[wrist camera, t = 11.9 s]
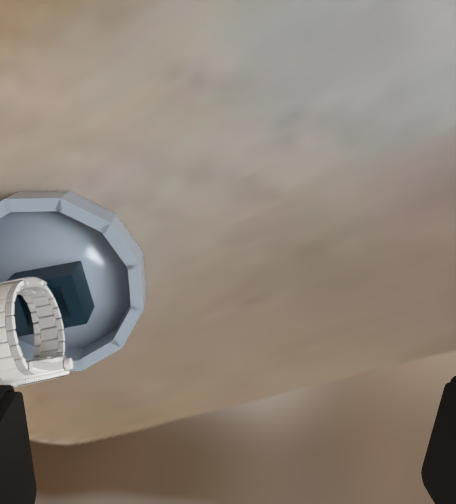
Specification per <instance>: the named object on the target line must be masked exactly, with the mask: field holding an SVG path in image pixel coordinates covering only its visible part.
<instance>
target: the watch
mask: <svg viewBox="0 0 456 504" xmlns="http://www.w3.org/2000/svg"><path fill="white" fill-rule="evenodd" d="M94 307H95V306H94V303H93V299H92V296H91V293H90V289H89V286H88V283H87V279H86V276H85V273H84V269H83V266H82V263H81V261H76V262H71V263H65V264H60V265H55V266H49V267H44V268H38V269H33V270H27V271H22V272H16V273H14V274H13V275H12V276H11V277H10V278H9V279H8V280H7V281H3V282H0V327H2V328H0V385H12V387H18V386H23V385H28V384H33V383H37V382H42V381H47V380H51V379H55V378H59V377H62V376H65V375H68V374H69V370H70V369H73V360H72V358H67V356H64V353H65V342H64V341H65V334H64V330H63V329H64V328H68V327H73V326H78V325H83V324H87V322H88V320H89V318H90V316H91V313H92V311H93V309H94ZM10 330H12V331H10ZM58 330H60V331H58ZM31 334H35V336H34V345H35V346H36V347H34V353H33V357H34V358H33V359H32V360H27V361H26V360H25V358H24V357H23V353H22V351H21V348H20V346H19V345H18V338H17V337H20V336H25V335H31ZM37 334H39V335H37ZM57 338H58V339H57ZM52 339H53V340H52ZM47 340H48V341H47ZM3 342H5V343H3Z"/></svg>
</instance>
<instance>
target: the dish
mask: <svg viewBox="0 0 456 504" xmlns="http://www.w3.org/2000/svg"><path fill="white" fill-rule="evenodd" d="M76 261H81V263H82V266H83V269H84V273H85V276H86V279H87V283H88V286H89V289H90V293H91V296H92V299H93V303H94V306H95V307H94V309H93V311H92V313H91V316H90V318H89V320H88V322H87V324H83V325H78V326H73V327H68V328H64V329H63V330H64V334H65V341H64V342H65V353H64V356H67V358H72V360H73V369H70V370H69V371H80V370H84V369H86V368H88V367H90V366H91V365H93V364H95V363H97V362H98V361H100V360H102V359H104V358H105V357H107V356H109V355H111V354H112V353H114V352H116V351H118V350H119V349H121V348H122V347H123V346H124V344H125V342H126V340H127V338H128V337H129V335H130V333H131V331H132V329H133V328H134V326H135V324H136V322H137V321H138V319H139V317H140V315H141V313H142V312H143V310H144V305H145V300H146V283H145V269H144V254H143V252H142V250H141V249H140V248H139V246H138V245H137V243H136V242H135V240H134V239H133V238H132V236H131V235H130V233H129V232H128V230H127V229H126V228H125V226H124V225H123V223H122V222H121V220H120V219H119V218H118V216H117V215H116V214H115V213H113V212H111V211H109V210H107V209H105V208H103V207H101V206H99V205H97V204H95V203H93V202H91V201H89V200H87V199H85V198H83V197H81V196H79V195H77V194H75V193H73V192H71V191H39V192H17V193H15V194H13V195H11V196H9V197H7V198H5V199H3V200H2V201H0V282H3V281H7V280H8V279H9V278H10V277H11V276H12V275H13V274H14V273H16V272H22V271H27V270H33V269H38V268H44V267H49V266H55V265H60V264H65V263H71V262H76ZM0 328H2V327H0ZM10 331H12V330H10ZM58 331H60V330H58ZM37 335H39V334H37ZM34 336H35V334H31V335H25V336H20V337H17V338H18V345H19V346H20V348H21V351H22V353H23V357H24V358H25V360H26V361H27V360H32V359H33V358H34V357H33V353H34V347H36V346H35V345H34ZM57 339H58V338H57ZM52 340H53V339H52ZM47 341H48V340H47ZM3 343H5V342H3Z"/></svg>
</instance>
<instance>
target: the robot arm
mask: <svg viewBox="0 0 456 504" xmlns="http://www.w3.org/2000/svg"><path fill="white" fill-rule="evenodd" d="M421 473H422V480H423V483H424V486H425V488H426V489H427V491H428V493H429V494H430V496H431V498H432V499H433V501H434V503H435V504H456V376H455V377H453V378H452V379H451V382H450V383H447V384H446V385H445V387H444V391H443V395H442V398H441V402H440V405H439V409H438V412H437V416H436V420H435V423H434V427H433V430H432V434H431V438H430V441H429V445H428V448H427V452H426V456H425V459H424V463H423V466H422V472H421ZM35 498H36V482H35V475H34V468H33V462H32V455H31V448H30V441H29V434H28V428H27V421H26V414H25V408H24V401H23V396H22V393H21V392H14V388H13V387H12V385H0V504H34V503H35Z"/></svg>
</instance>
